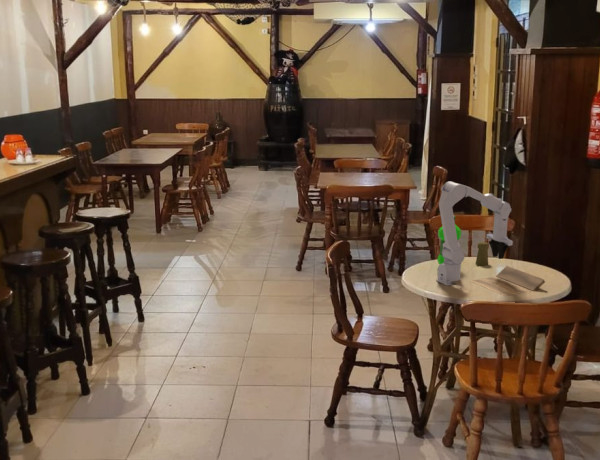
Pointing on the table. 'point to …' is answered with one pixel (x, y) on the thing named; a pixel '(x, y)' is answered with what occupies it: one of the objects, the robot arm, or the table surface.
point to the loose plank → (521, 278)
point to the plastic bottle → (441, 236)
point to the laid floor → (498, 287)
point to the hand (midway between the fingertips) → (498, 257)
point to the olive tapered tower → (482, 254)
